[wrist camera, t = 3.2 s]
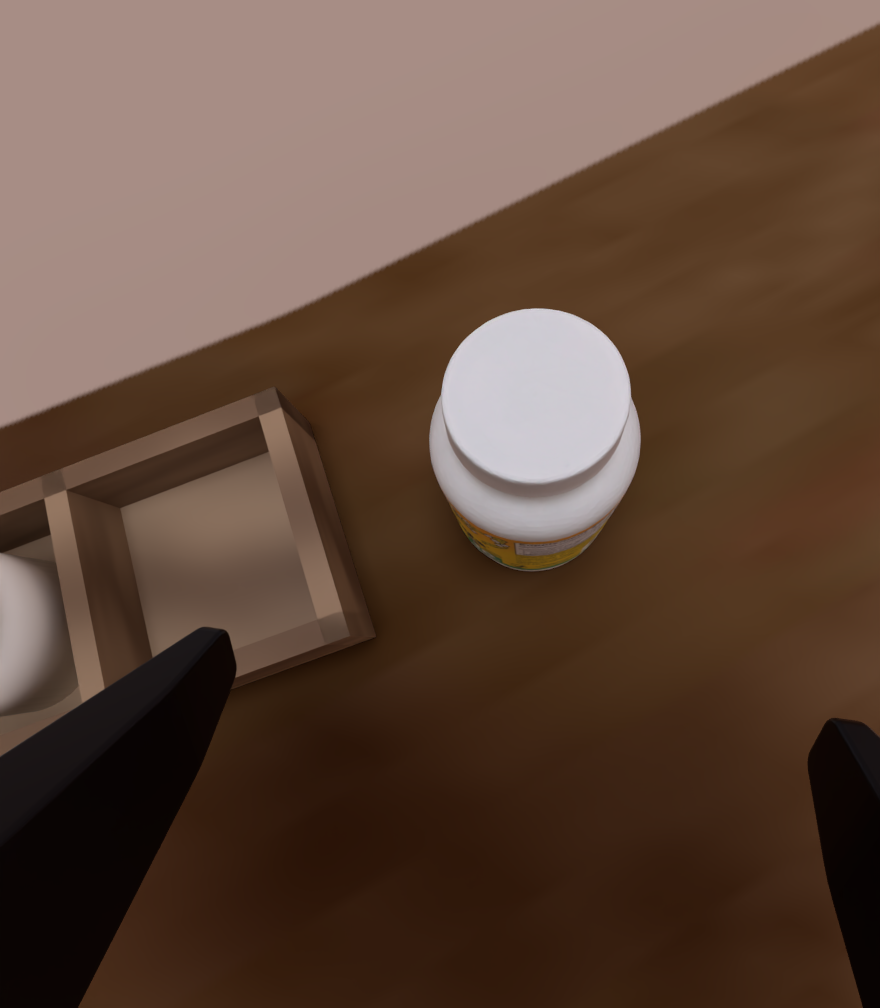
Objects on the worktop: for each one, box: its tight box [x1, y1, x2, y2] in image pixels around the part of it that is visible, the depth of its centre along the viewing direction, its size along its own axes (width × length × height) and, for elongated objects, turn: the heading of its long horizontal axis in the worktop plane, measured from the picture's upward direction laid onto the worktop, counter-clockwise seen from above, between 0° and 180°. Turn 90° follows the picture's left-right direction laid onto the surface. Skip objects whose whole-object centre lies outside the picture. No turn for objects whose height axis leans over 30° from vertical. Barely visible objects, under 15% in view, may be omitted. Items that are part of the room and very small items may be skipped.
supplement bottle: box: [429, 309, 641, 571], centre depth 18 cm, size 5×5×10 cm
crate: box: [0, 387, 376, 756], centre depth 22 cm, size 9×16×4 cm, turn 109°
